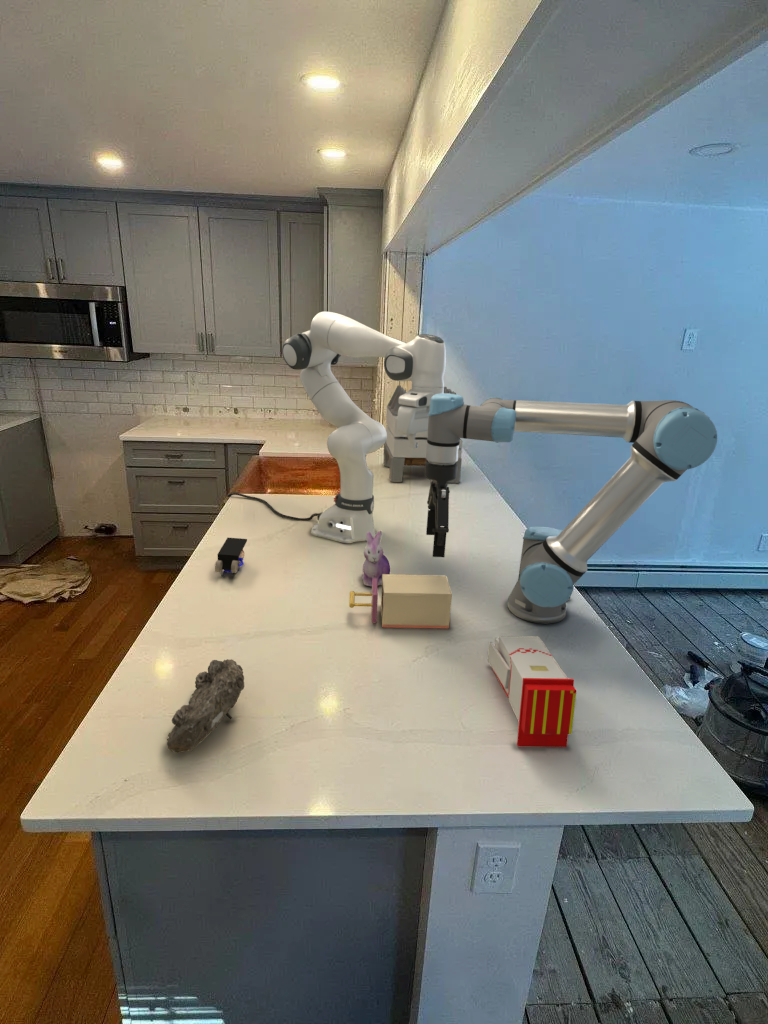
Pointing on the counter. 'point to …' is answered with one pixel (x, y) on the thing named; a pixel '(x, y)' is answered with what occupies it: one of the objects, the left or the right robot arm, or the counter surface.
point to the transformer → (406, 443)
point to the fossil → (206, 705)
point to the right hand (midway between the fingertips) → (434, 545)
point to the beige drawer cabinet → (416, 601)
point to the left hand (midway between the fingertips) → (424, 446)
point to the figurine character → (230, 556)
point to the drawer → (373, 601)
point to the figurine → (374, 560)
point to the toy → (534, 690)
